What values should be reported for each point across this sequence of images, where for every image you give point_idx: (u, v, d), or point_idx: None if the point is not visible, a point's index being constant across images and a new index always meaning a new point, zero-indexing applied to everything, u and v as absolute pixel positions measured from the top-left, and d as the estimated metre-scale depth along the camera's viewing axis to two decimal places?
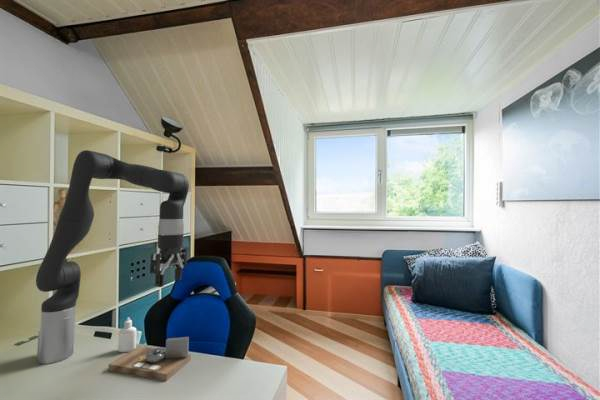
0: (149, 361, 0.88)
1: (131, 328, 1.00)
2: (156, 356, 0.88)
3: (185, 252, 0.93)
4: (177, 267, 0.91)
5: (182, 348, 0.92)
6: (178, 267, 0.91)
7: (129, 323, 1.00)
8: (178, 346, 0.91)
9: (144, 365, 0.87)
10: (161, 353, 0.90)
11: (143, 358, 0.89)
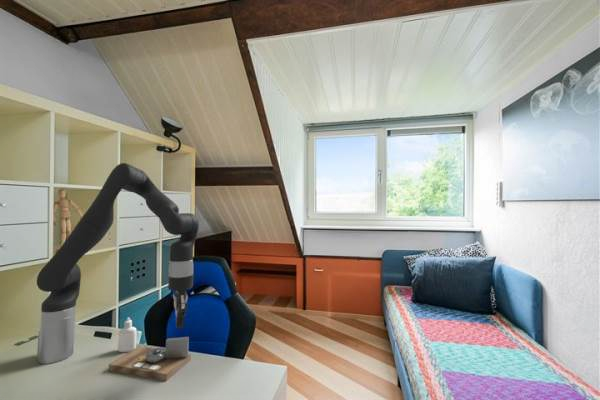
0: (149, 361, 0.88)
1: (131, 328, 1.00)
2: (156, 356, 0.88)
3: (178, 306, 0.83)
4: None
5: (182, 348, 0.92)
6: None
7: (129, 323, 1.00)
8: (178, 346, 0.91)
9: (144, 365, 0.87)
10: (161, 353, 0.90)
11: (143, 358, 0.89)
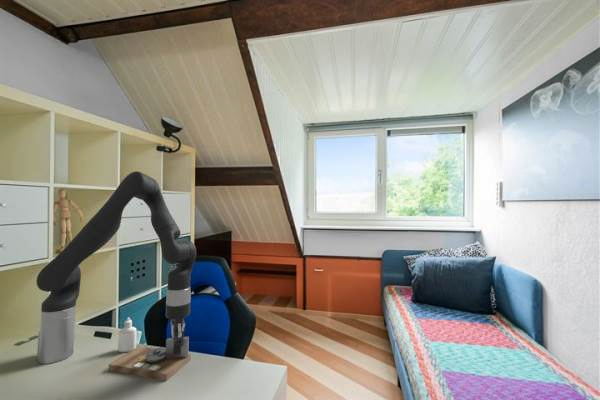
0: (149, 361, 0.88)
1: (131, 328, 1.00)
2: (156, 356, 0.88)
3: None
4: None
5: (182, 348, 0.92)
6: None
7: (129, 323, 1.00)
8: None
9: (144, 365, 0.87)
10: (162, 353, 0.90)
11: (143, 358, 0.89)
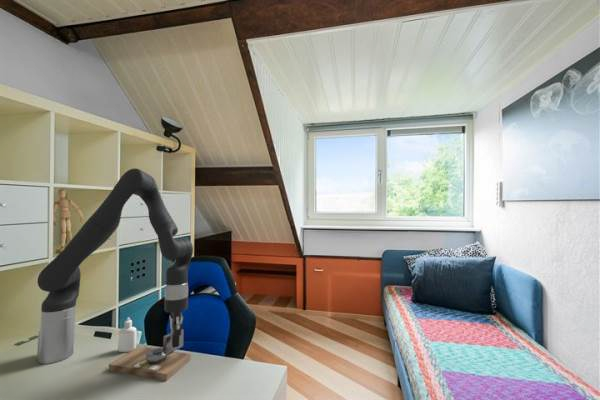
0: (158, 360, 0.88)
1: (131, 328, 1.00)
2: (162, 353, 0.90)
3: (173, 328, 0.89)
4: None
5: (179, 339, 0.98)
6: None
7: (129, 323, 1.00)
8: None
9: (144, 365, 0.87)
10: (163, 350, 0.92)
11: (146, 362, 0.87)
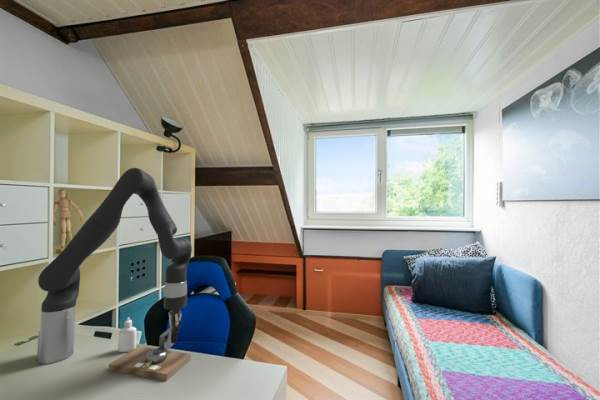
0: (162, 358, 0.89)
1: (131, 328, 1.00)
2: (164, 351, 0.91)
3: (172, 324, 0.92)
4: None
5: None
6: None
7: (129, 323, 1.00)
8: (170, 337, 0.98)
9: (144, 365, 0.87)
10: (161, 349, 0.93)
11: (151, 363, 0.87)
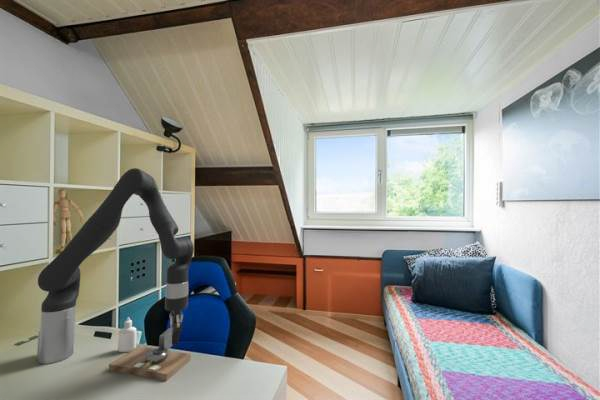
0: (162, 358, 0.89)
1: (131, 328, 1.00)
2: (164, 351, 0.91)
3: (174, 326, 0.90)
4: None
5: (171, 337, 0.99)
6: None
7: (129, 323, 1.00)
8: (170, 337, 0.98)
9: (144, 365, 0.87)
10: (161, 349, 0.93)
11: (151, 363, 0.87)
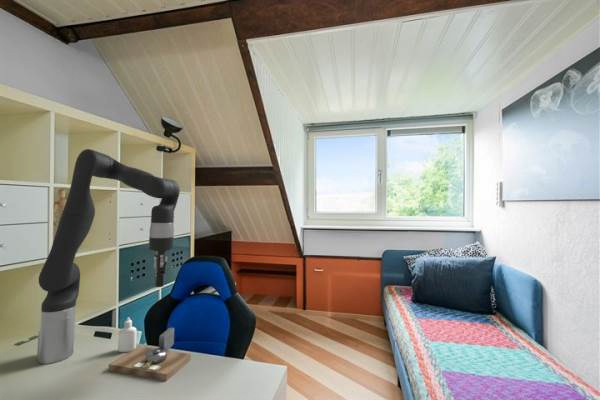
0: (162, 358, 0.89)
1: (131, 328, 1.00)
2: (164, 351, 0.91)
3: (157, 265, 0.87)
4: None
5: (171, 337, 0.99)
6: None
7: (129, 323, 1.00)
8: (170, 337, 0.98)
9: (144, 365, 0.87)
10: (161, 349, 0.93)
11: (151, 363, 0.87)
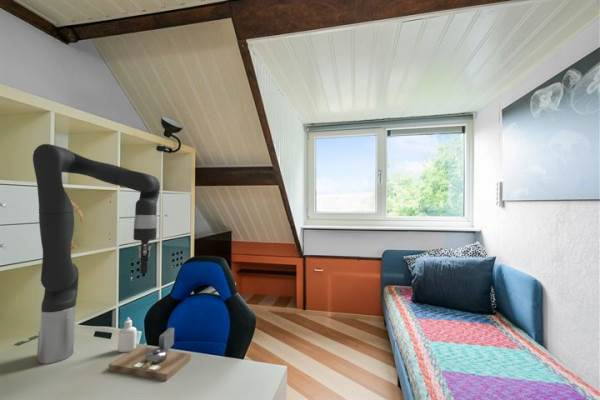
0: (162, 358, 0.89)
1: (131, 328, 1.00)
2: (164, 351, 0.91)
3: (141, 253, 0.96)
4: None
5: (171, 337, 0.99)
6: None
7: (129, 323, 1.00)
8: (170, 337, 0.98)
9: (144, 365, 0.87)
10: (161, 349, 0.93)
11: (151, 363, 0.87)
